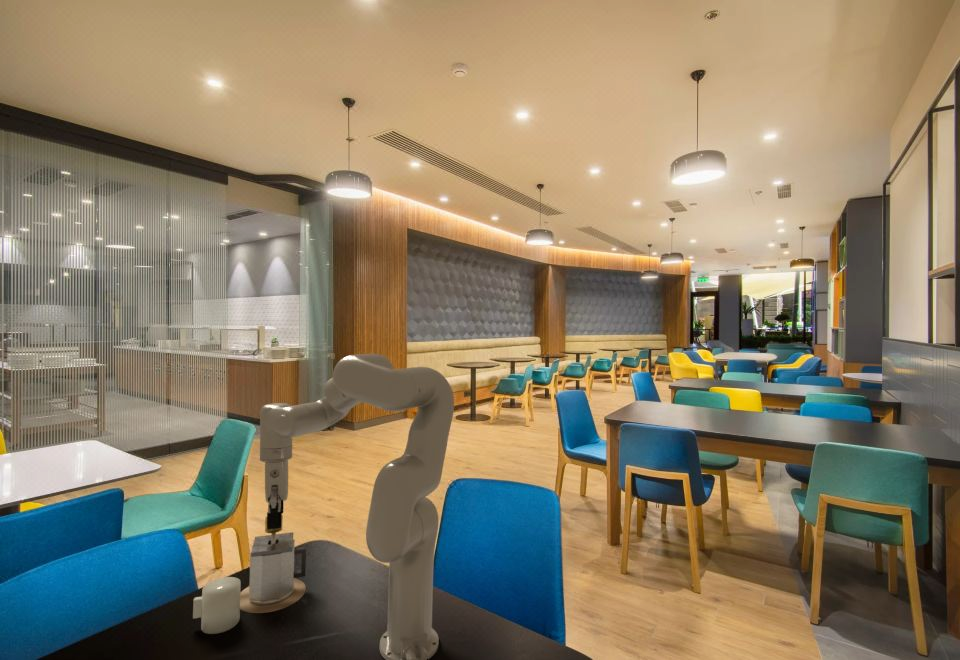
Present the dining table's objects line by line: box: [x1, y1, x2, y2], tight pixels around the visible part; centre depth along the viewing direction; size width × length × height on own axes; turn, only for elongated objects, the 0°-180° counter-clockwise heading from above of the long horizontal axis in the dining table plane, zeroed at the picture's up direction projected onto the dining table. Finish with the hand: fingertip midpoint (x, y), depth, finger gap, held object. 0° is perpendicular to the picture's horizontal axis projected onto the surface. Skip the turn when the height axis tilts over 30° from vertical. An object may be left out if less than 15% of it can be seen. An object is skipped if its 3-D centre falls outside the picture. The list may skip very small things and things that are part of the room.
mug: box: [192, 576, 242, 635], centre depth 104 cm, size 8×9×9 cm
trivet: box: [240, 578, 307, 614], centre depth 116 cm, size 16×16×1 cm
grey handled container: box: [248, 531, 307, 606], centre depth 117 cm, size 10×13×13 cm
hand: (275, 520), depth 116 cm, fingers open, 9 cm apart
